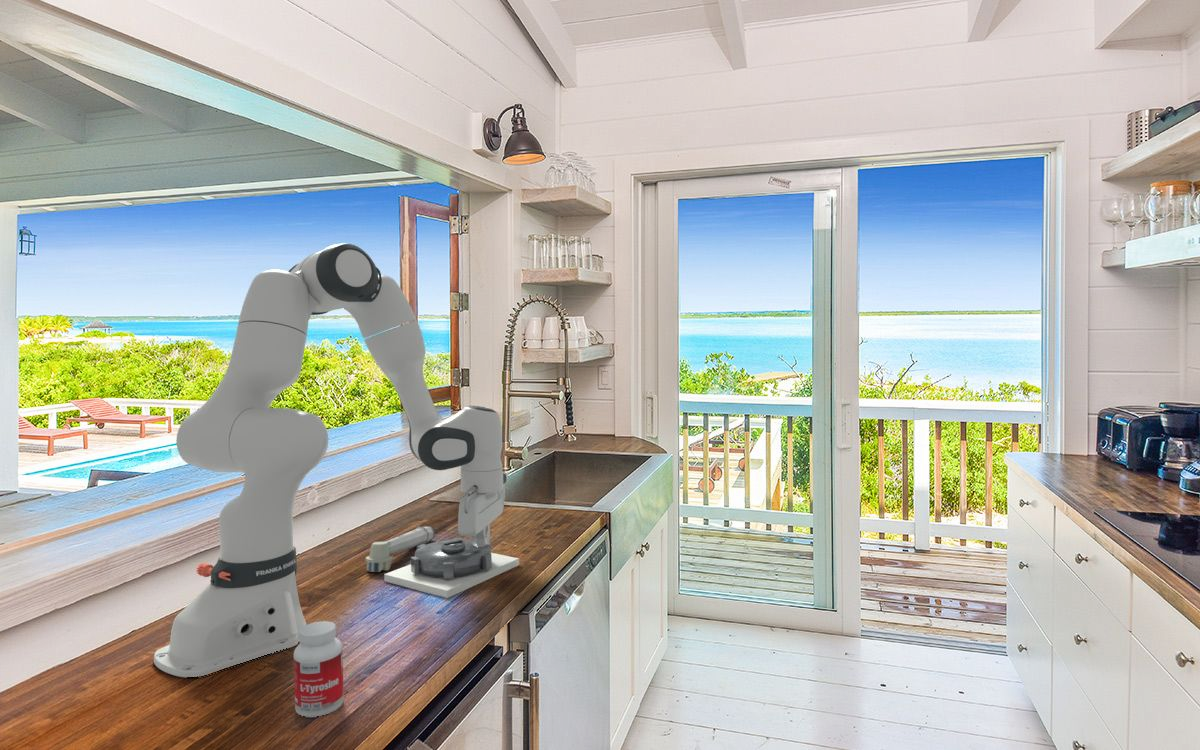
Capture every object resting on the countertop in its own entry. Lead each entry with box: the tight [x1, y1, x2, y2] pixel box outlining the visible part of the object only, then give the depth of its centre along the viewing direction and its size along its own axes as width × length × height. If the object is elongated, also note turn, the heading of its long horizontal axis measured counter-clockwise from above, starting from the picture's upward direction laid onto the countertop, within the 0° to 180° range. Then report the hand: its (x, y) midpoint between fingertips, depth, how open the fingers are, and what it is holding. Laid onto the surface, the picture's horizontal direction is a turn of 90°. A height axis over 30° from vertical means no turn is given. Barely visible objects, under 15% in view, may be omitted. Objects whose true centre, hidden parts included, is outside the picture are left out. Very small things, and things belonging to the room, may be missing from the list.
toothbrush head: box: [365, 525, 435, 573], centre depth 156 cm, size 5×7×25 cm
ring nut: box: [410, 528, 492, 579], centre depth 144 cm, size 17×17×8 cm
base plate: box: [383, 552, 520, 599], centre depth 144 cm, size 22×18×2 cm
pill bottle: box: [293, 620, 345, 718], centre depth 92 cm, size 6×6×11 cm
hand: (482, 545), depth 144 cm, fingers closed
